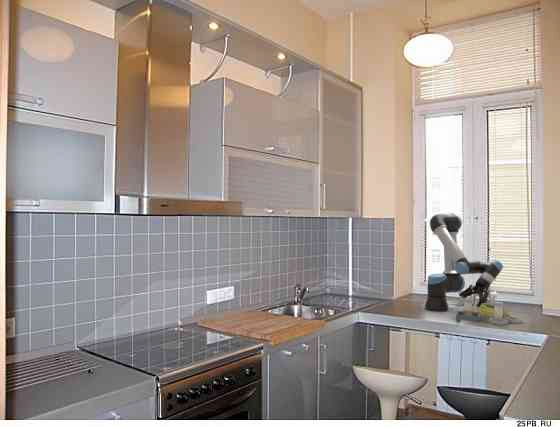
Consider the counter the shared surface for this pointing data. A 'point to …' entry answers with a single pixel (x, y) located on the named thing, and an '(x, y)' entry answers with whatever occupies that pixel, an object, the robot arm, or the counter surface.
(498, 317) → the plain fuse
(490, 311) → the plastic component
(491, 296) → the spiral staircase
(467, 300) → the marked fuse
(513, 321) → the fuse block
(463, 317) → the tray
